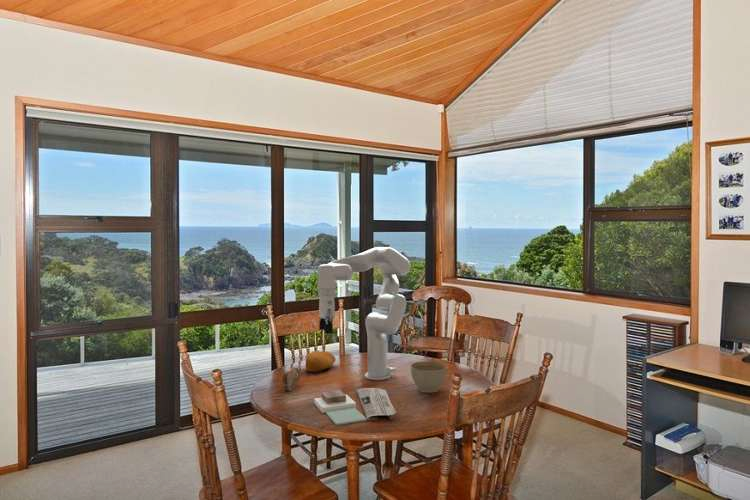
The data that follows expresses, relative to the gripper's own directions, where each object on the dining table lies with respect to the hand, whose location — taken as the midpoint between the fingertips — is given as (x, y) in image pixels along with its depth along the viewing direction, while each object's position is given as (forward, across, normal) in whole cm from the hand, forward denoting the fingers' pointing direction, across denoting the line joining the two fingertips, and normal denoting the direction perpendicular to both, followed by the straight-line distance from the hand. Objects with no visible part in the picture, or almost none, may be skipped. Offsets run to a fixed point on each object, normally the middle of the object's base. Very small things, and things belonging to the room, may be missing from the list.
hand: (325, 331), depth 218 cm
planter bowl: (+26, -12, -45) cm, 53 cm away
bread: (+26, +41, -9) cm, 49 cm away
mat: (+28, -30, 0) cm, 41 cm away
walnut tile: (+26, -15, 0) cm, 30 cm away
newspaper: (+28, -23, -16) cm, 39 cm away
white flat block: (+28, -17, 0) cm, 32 cm away
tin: (+28, +14, +12) cm, 33 cm away
